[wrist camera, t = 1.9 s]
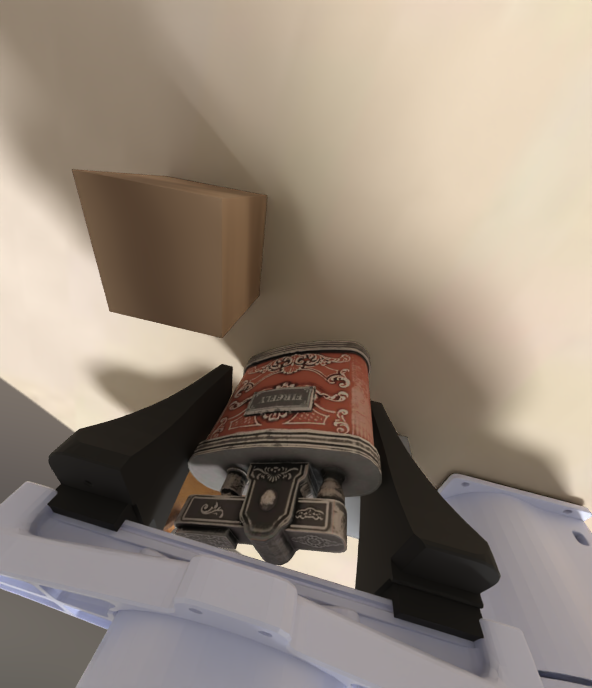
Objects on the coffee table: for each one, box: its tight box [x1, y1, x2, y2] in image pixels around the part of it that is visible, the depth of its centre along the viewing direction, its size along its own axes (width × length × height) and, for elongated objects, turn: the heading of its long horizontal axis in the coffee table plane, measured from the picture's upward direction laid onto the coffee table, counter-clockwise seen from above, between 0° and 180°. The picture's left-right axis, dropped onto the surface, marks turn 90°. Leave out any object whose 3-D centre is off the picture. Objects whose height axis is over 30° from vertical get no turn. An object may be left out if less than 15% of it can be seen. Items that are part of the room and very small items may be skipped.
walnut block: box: [72, 169, 267, 338], centre depth 11 cm, size 5×5×5 cm
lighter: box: [174, 341, 382, 565], centre depth 12 cm, size 8×3×10 cm, turn 107°
